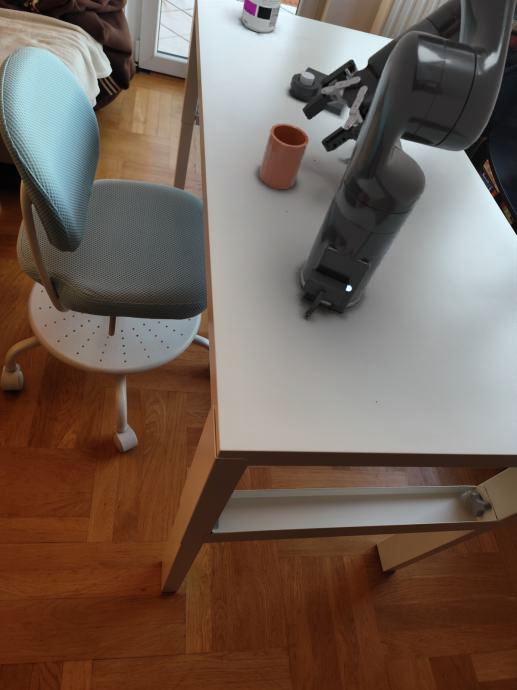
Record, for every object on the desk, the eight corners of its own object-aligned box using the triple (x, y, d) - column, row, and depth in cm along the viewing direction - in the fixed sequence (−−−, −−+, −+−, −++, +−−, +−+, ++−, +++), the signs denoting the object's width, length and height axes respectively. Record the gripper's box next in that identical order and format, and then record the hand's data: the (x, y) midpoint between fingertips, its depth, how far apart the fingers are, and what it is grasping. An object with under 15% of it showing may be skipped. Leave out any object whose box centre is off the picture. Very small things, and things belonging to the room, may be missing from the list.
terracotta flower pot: (288, 194, 81) (302, 152, 74) (254, 179, 81) (265, 136, 75) (298, 175, 85) (312, 133, 78) (266, 161, 85) (277, 118, 78)
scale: (338, 118, 99) (343, 104, 97) (285, 95, 99) (289, 81, 97) (352, 92, 107) (357, 78, 104) (302, 71, 107) (306, 57, 105)
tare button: (310, 88, 98) (312, 80, 97) (297, 82, 98) (299, 75, 97) (313, 82, 100) (316, 75, 99) (301, 77, 100) (303, 69, 99)
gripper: (435, 107, 72) (339, 173, 77) (393, 57, 79) (308, 120, 84) (423, 68, 65) (321, 142, 71) (379, 17, 73) (289, 88, 78)
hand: (314, 130), depth 77 cm, fingers open, 8 cm apart
